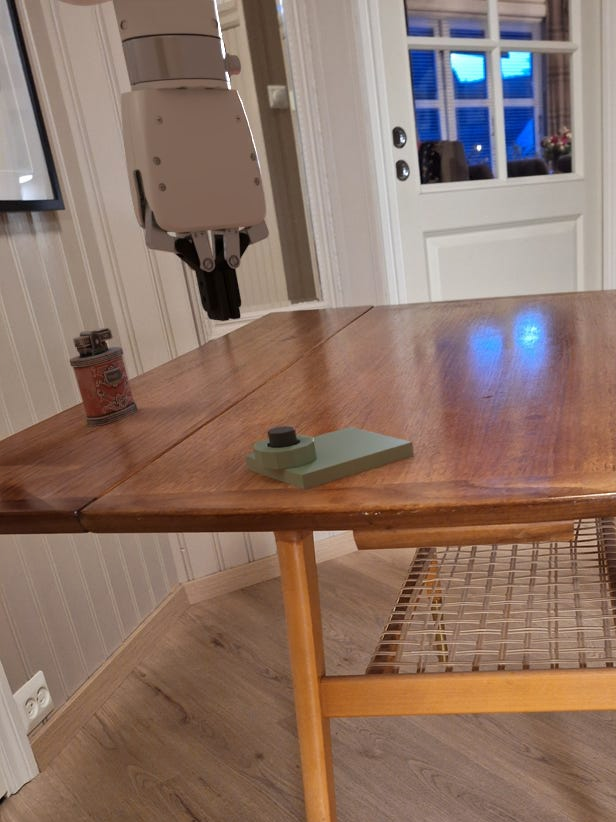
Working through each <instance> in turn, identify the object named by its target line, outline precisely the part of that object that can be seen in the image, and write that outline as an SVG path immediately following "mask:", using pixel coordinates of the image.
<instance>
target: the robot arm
mask: <svg viewBox="0 0 616 822" xmlns="http://www.w3.org/2000/svg"><path fill="white" fill-rule="evenodd" d="M58 1H59V2H62V3H65V4H68V5H72V6H78V7H89V6H97V5H101V4H104V3H108V2H111V1H112V4H113V9H114V14H115V19H116V23H117V28H118V32H119V38H120V41H121V47H122V53H123V57H124V61H125V62H124V63H125V67H126V72H127V77H128V81H129V85H130V91H126V92H122V93H121V95H120V96H121V97H120V98H121V99H120V100H121V101H120V102H121V103H120V104H121V125H122V136H123V147H124V148H123V149H124V156H125V162H126V163H125V164H126V169H127V170H126V171H127V177H128V183H129V190H130V196H131V201H132V206H133V210H134V214H135V217H136V221H137V223H138V225H139V226H140V228H142V229H143V230H144V234H145V235H144V236H145V237H144V241H145V246H146V247H147V248H148V249H149V250H153V251H159V252H165V253H172V254H175V255H176V256H177V257H178V258H179V259H181V261H183V263H185V264H186V265H187V267H188V268H189V269H190V271H193V272H195V278H196V281H197V287H198V293H199V298H200V302H201V303H200V304H201V307H202V309H203V311H205V312H206V314H207V317H208V320H213V321H220V322H226V321H230V320H238V319H241V317H242V316H241V309H240V308H241V306H242V298H241V291H240V286H239V281H238V275H237V269H238V268H239V267H241V259H242V257H243V255H244V254H245V253H246V251H247V249H248V247H249V246H252V245H254V244H256V243H259V242H261V241H263V240H266V239H267V238H268V237H269V235H270V231H269V229H268V226H267V223H266V220H265V218H266V216H267V201H266V194H265V193H266V192H265V189H264V188H265V187H264V181H263V177H262V171H261V166H260V162H259V158H258V153H257V149H256V145H255V141H254V137H253V134H252V130H251V125H250V123H249V120H248V116H247V114H246V111H245V108H244V105H243V101H242V99H241V97H240V94H239V91H238V89H231V82H232V78H231V77H232V76H235V75H236V76H238V75H240V73H241V69H242V63H241V60H240V58H239V56H238V55H236V54H230V53H228V52H227V47H226V43H225V42H223V37H222V31H221V30H222V29H221V24H220V19H219V18H220V17H219V12H218V7H217V0H58ZM240 228H241V229H240ZM206 231H210V232H211V233H210V234H211V247H210V243H209V241H208V237H207V234H206ZM169 233H176V234H177V236H173V235H171V234H169ZM211 249H212V250H211Z"/></svg>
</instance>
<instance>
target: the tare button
mask: <svg viewBox="0 0 616 822" xmlns="http://www.w3.org/2000/svg"><path fill="white" fill-rule="evenodd" d="M296 435H297V432H296V428H295V427H294V426H288V425H287V426H286V425H284V426H277V427H273V428H270V429H269V430H267V437H268V439H269V442H270V447H271V448H283V447H290V446H293V445H297V444H298V443H297V437H296Z"/></svg>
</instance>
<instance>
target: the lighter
mask: <svg viewBox="0 0 616 822" xmlns="http://www.w3.org/2000/svg"><path fill="white" fill-rule="evenodd" d="M113 339H114V336H113V333H112V330H111V329H110V328H109V327H102V328H98V329H94V330H83V331H80V332H79V336H76V337H73V338H72V341H73V345H74V347H75V349H76V352H77V353H78V354H79V355H76V356H74V357H71V358H69V359H68V360H69V364H70V367H72V368H73V372H74V376H75V379H76V382H77V386H78V389H79V393H80V396H81V401H82V403H83V407H84V410H85V415H86V416H85V421H86V424H87V426H90V427H96V426H103V425H108V424H110V423H113V422H116V421H119V420H122V419H123V418H126V417H128V416H130V415H132V414H134V413H136V412H137V411H138V405H137V402H136V401H134V397H133V392H132V389H131V385H130V381H129V378H128V377H129V376H128V373H127V369H126V364H125V361H124V357H123V355H124V350H123V347H122V346H111V347H109V346H108V342H107V341H109V340H113Z"/></svg>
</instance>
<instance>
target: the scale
mask: <svg viewBox="0 0 616 822" xmlns="http://www.w3.org/2000/svg"><path fill="white" fill-rule="evenodd" d="M296 437H297V443H298V444H297V445H293V446H290V447H283V448H271V447H270V442H269V438H266V439H262V440H260V441H258V442H256V443H254V444H253V448H252V449H253V452H252V453H250V454H246V455H244V458H245V463H246V468H247V470H248V471H252V472H254V473H257V474H260V475H263V476H266V477H269V478H271V479H274V480H276V481H279V482H282V483H285V484H288V485H290V486H293V487H296V488H299V489H301V490H308V489H312V488H314V487H317V486H321V485H324V484H328V483H331V482H335V481H337V480H340V479H344V478H347V477H349V476H353V475H356V474H360V473H363V472H367V471H369V470H373V469H375V468H376V469H377V468H379V467H382V466H385V465H388V464H392V463H395V462H399V461H402V460H405V459H408V458H411V457H414V445H413V441H410V440H407V439H401V438H397V437H394V436H389V435H385V434H382V433H378V432H373V431H369V430H365V429H361V428H358V427H354V426H348V427H344V428H340V429H337V430H333V431H330V432H326V433H322V434H320V435H315V436H308V435H304V434H296Z"/></svg>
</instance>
